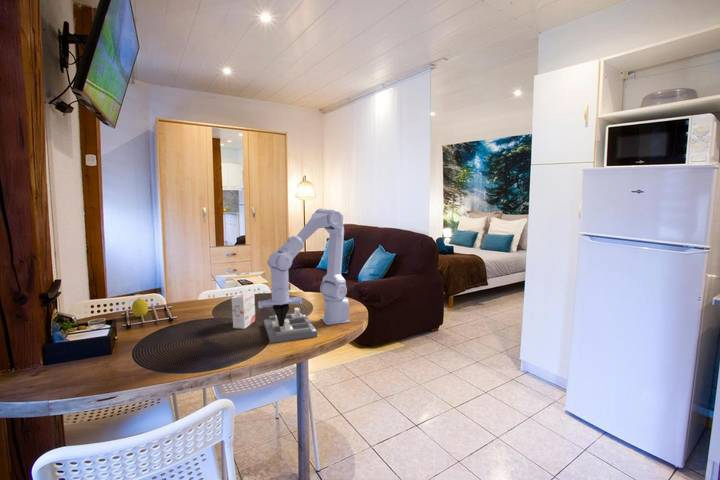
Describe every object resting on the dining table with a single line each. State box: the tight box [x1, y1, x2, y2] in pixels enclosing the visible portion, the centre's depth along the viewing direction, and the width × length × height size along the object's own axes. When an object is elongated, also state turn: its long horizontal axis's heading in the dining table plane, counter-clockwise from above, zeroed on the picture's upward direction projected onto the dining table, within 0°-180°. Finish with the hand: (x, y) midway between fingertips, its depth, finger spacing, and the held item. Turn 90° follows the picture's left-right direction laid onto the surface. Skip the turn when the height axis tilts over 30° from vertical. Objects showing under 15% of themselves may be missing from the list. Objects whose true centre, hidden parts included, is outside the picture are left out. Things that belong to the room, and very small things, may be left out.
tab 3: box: [291, 307, 304, 319], centre depth 134 cm, size 4×4×4 cm
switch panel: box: [263, 312, 318, 344], centre depth 128 cm, size 16×18×3 cm
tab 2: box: [280, 319, 293, 331], centre depth 122 cm, size 4×4×4 cm
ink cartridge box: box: [231, 284, 256, 330], centre depth 133 cm, size 9×5×15 cm, turn 168°
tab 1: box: [272, 314, 279, 329], centre depth 126 cm, size 4×4×4 cm
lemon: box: [131, 297, 149, 318], centre depth 140 cm, size 6×6×8 cm
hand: (281, 325), depth 121 cm, fingers closed
